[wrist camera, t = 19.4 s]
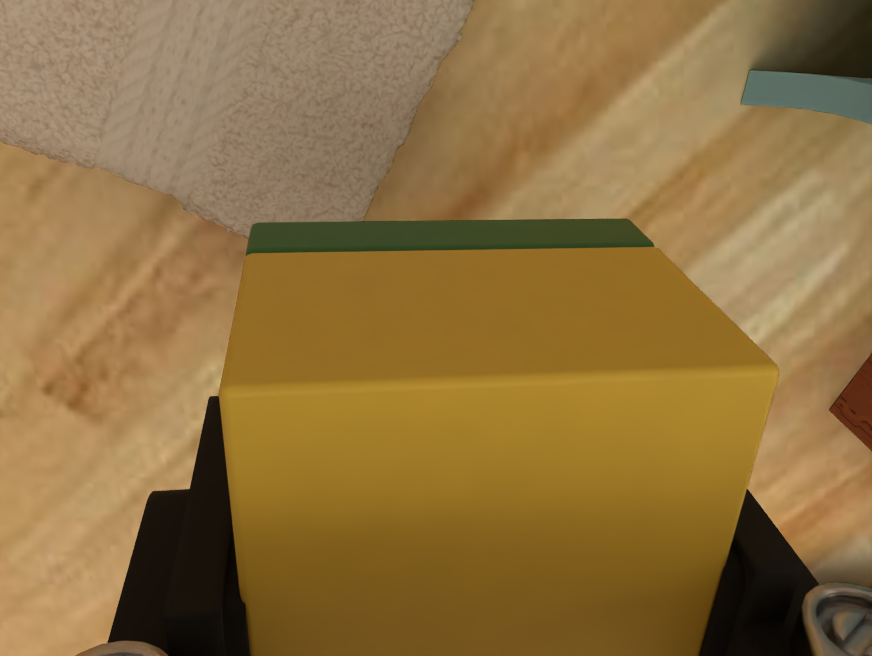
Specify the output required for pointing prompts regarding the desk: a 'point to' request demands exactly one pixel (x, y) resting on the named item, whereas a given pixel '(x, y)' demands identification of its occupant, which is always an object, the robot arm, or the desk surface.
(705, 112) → the desk surface
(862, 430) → the box
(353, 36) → the washcloth
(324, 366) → the sponge
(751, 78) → the vase
